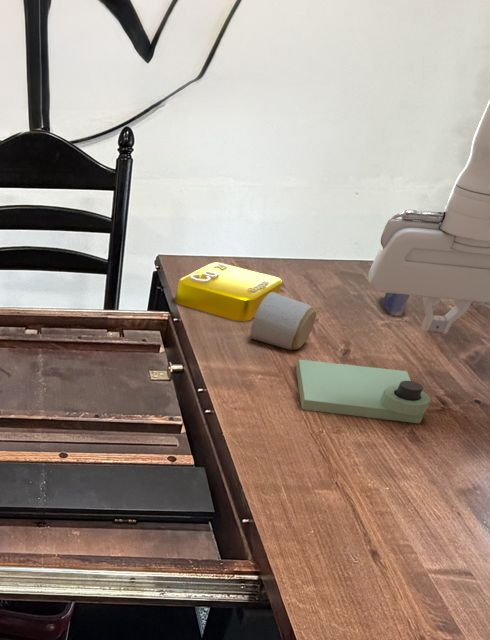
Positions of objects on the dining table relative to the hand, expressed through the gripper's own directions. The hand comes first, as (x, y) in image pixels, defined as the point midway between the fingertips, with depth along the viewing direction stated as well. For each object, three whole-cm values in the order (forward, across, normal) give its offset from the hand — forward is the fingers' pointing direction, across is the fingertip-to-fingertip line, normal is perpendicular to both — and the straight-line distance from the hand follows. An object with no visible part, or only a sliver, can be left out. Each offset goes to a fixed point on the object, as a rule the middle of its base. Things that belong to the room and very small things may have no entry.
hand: (433, 331), depth 93 cm
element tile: (+13, -24, +39) cm, 47 cm away
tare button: (+9, 0, 0) cm, 9 cm away
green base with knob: (+12, -5, +5) cm, 14 cm away
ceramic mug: (+13, -15, +23) cm, 30 cm away
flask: (+12, +6, +44) cm, 46 cm away
